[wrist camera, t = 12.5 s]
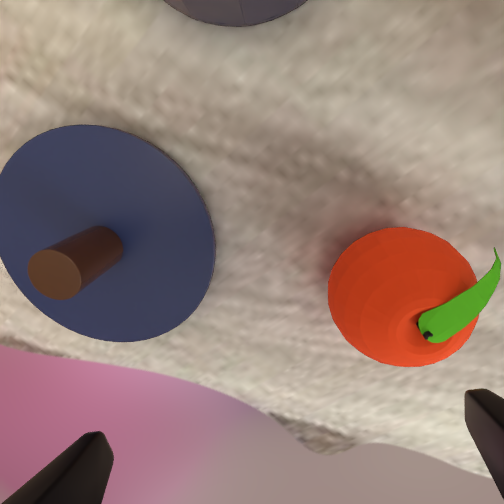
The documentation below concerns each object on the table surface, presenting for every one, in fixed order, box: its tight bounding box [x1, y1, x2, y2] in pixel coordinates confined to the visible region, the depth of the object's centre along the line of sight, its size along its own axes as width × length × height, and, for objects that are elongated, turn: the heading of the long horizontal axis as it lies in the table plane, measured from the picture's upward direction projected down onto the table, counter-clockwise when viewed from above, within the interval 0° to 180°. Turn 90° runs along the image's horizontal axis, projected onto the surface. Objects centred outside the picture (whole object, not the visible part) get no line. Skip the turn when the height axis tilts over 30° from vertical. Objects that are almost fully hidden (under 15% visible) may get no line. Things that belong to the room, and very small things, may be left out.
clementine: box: [328, 227, 501, 367], centre depth 16 cm, size 8×7×7 cm
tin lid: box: [0, 124, 216, 342], centre depth 17 cm, size 14×14×6 cm
